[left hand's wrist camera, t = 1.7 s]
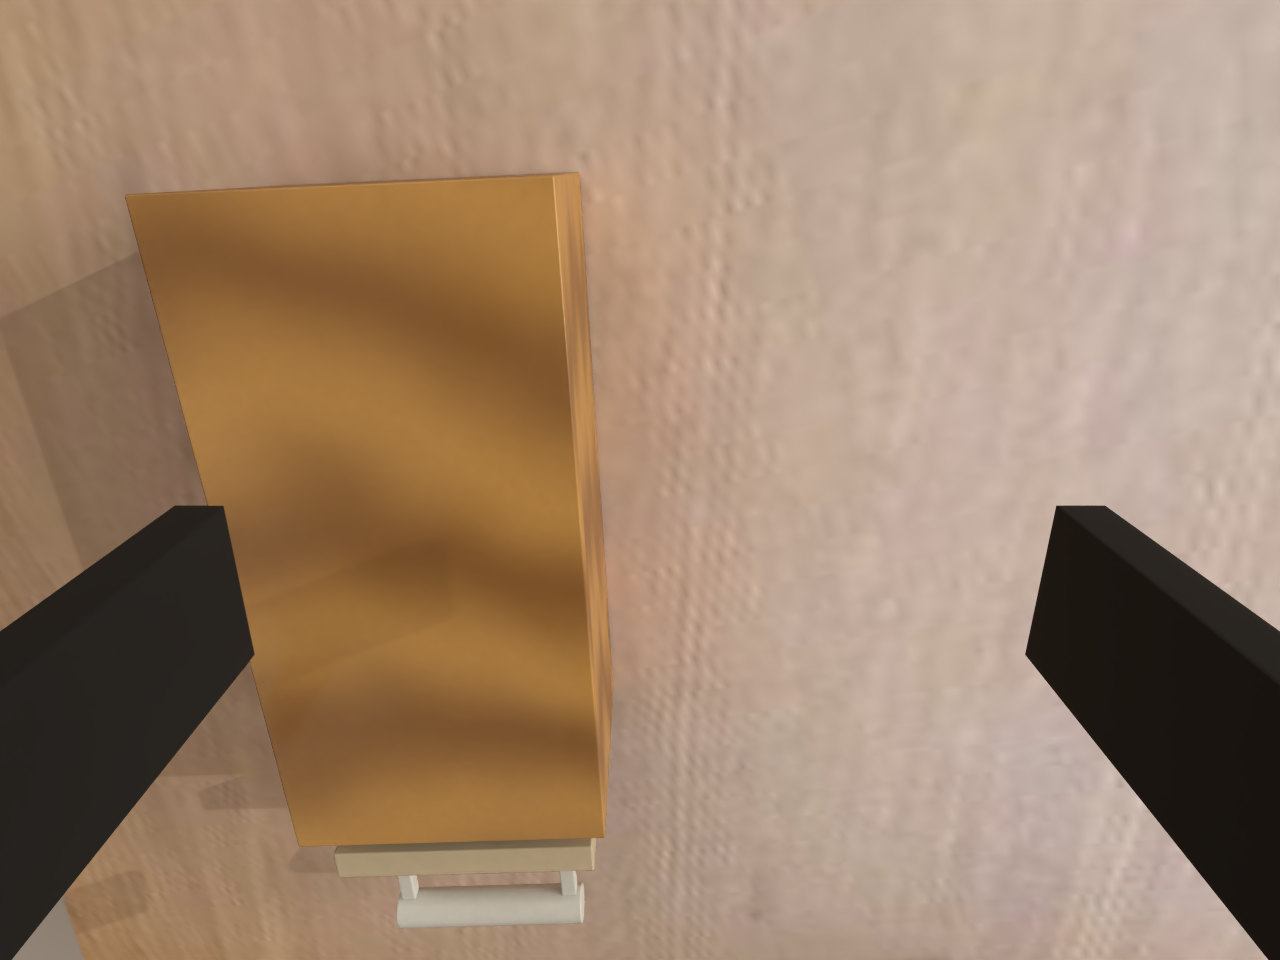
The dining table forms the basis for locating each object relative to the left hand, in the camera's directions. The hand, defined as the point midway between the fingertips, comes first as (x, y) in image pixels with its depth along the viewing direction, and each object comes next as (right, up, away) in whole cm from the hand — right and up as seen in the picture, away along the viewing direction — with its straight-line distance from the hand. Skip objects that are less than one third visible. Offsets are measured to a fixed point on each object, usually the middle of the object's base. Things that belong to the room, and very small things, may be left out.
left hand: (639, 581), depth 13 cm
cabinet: (-7, +2, +19) cm, 20 cm away
